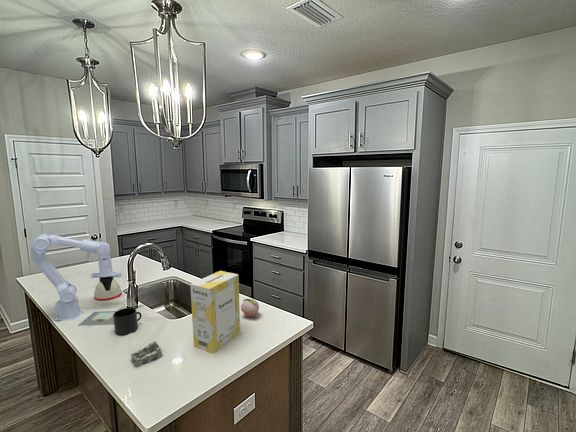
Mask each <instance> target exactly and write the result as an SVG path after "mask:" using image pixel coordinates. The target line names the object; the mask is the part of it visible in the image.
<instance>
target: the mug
mask: <svg viewBox="0 0 576 432" xmlns="http://www.w3.org/2000/svg"><path fill="white" fill-rule="evenodd" d="M115 311H116V312H115V313H114V314H113V318H114V325H113V326H114V333H115V335H117V336H128V335H130V334H132V333H136V331H137V330H138V329H139V328H138V326H139V325H138V322H139V321H140V320H141V319H142V313H141V312H140V311H137V309H136V308H135V307H124V308H121V309H118V310H115ZM138 315H139V317H138Z"/></svg>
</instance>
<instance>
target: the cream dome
mask: <svg viewBox="0 0 576 432" xmlns="http://www.w3.org/2000/svg"><path fill="white" fill-rule="evenodd" d="M98 278H99V279H100V278H101V277H98ZM95 285H96V286H95V289H94V294H93V296H94V300H95V301H97V302H103V301H104V302H105V301H111V300H114V299H117V298H120V297H121V296H122V295H123V294H122V293H123V290H122V289H121V285H120V284H119V283H118V281H117V280H116V279H115V278H113V280H112V283H111V288H110V290H109V291H106V290H105V288H104V286H103V284H102V283H101V282H100V280H99V282H98V283H96V284H95Z"/></svg>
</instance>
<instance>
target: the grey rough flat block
mask: <svg viewBox="0 0 576 432" xmlns="http://www.w3.org/2000/svg"><path fill="white" fill-rule="evenodd" d="M152 351H153V353H152ZM155 351H156V352H155ZM162 351H163V349H162V348H161V347H160V346H159V344H158V342H157V341H152V342H150V343H149V344H148V345H146V346H144V347H143V348H141V349H138V350H137V351H135V352H134V353H133V352H132V353H130V357H131V362H132V363H133V362H134V366H135V367H137V366H139V367H141V366H143V364H144V363H150V362H152V360H153V359H159V358H161V356H162V353H163V352H162ZM137 358H138V359H137Z"/></svg>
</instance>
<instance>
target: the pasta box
mask: <svg viewBox="0 0 576 432" xmlns="http://www.w3.org/2000/svg"><path fill="white" fill-rule="evenodd" d="M239 276H240V275H239V274H238V273H234V272H227V271H225V270H224V271H223V270H219V271H216V272H214V273H211V274H210V275H207V276H205V277H203V278H201V279H198V280H196V281H194V282H192V283H190V285H189V286H190V300H191V301H190V302H191V316H192V317H191V318H192V319H191V320H192V321H191V322H192V335H193V336H192V337H193V347H194V348H196V349H199V350H202V351H204V352H206V353H209V354H212V355H214V354H215V353H216V352H218V351H219V350H220V349H221V348H222V347H224V346H225V345H227V343H229V342H230V341H232V340H233V339H234V338H235V337H237V336H238V335H239V334H240V333H241V313H240V312H241V311H240V310H241V306H240V282H239V281H240V278H239Z"/></svg>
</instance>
